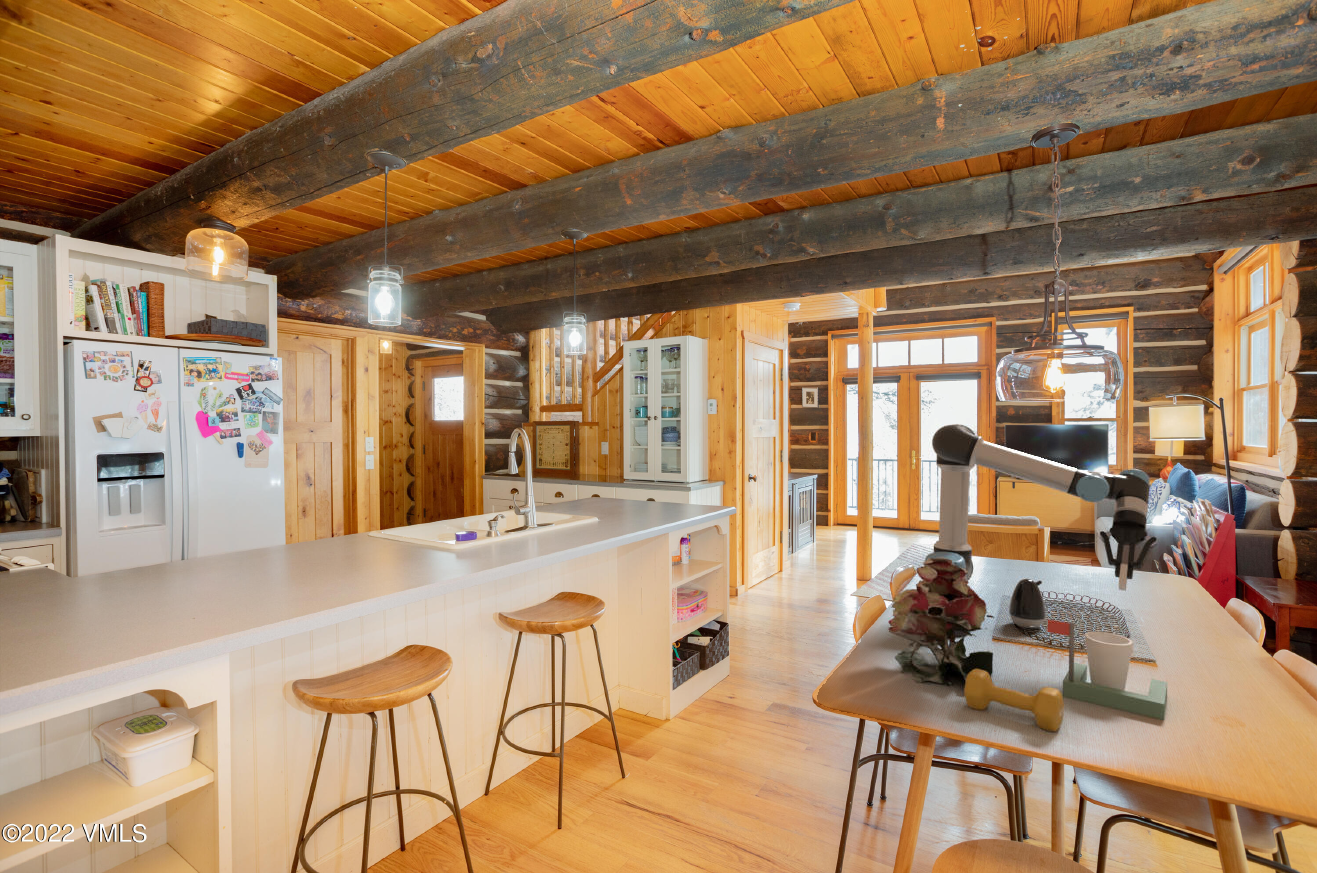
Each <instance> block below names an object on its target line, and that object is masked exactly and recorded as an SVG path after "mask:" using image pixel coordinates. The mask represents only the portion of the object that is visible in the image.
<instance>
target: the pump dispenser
mask: <svg viewBox="0 0 1317 873" xmlns="http://www.w3.org/2000/svg"><path fill="white" fill-rule="evenodd" d="M1042 584H1043V582H1042V580H1037V581H1034V580H1032V579H1030V578H1024V579H1021V580H1020V581H1018V583H1017V584H1016V585H1015V587H1014V589H1013V592H1012V595H1011V598H1010V602H1009V608H1008V612H1009V615H1010V619H1011V620H1012V622H1013V623H1014V624H1015V625H1017V626H1018V627H1021V628H1023V629H1024V628H1025V629H1032V630H1033V629H1037V628H1040V627H1041V626H1042V625H1043V623H1044V622H1045V619H1046V617H1047V615H1046V612H1047V611H1046V606H1045V602H1044V597H1043V595H1042V593H1041V592H1042V591H1041V590H1040V587H1039V586H1040V585H1042ZM1030 626H1034V627H1030ZM1035 626H1038V627H1035Z"/></svg>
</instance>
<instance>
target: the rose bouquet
mask: <svg viewBox="0 0 1317 873" xmlns="http://www.w3.org/2000/svg"><path fill="white" fill-rule="evenodd" d="M952 561H953V560H950V559H947V558H942V557H941V558H939V557H938V558H936V559H933V558H928V559H927V561H925V560H924V561H923V563H922V565H923V566H919V567H917V568H916V569H915V571H916V573H917V575H918V577H919V578H920V579H921V580H918V582H917V583H916V584H915V588H909V589H907V588H906V589H904V590H903V591H901V592H899V593H898V594H897V595H895V596H893V599H892V601H891V602H892V605H891V608H892V616H893V617H892V618H891V619H890V620H888V624H889V625H890V627H888V632H889V633H890V634H893V635H895V636H898V637H901V638H904V639H906V640H908V641H911V642H909V643H908V644H909V645H908V647H906V648H903V649H901V651H900V652H898V653H897V654H896V655H895V656H894V657H895V660H896V661H897V662H898V663H899V664H900V665H901V668H902V669H901V670H900V671H899V673H901V674H906V673H909V674H911V675H910V676H909V678H910V679H912V680H913V681H914V682H915V683H919V684H922V683H924V682H933V683H936V684H937V683H938V684H939V685H940V684H941V685H945V686H947V687H954V684H953V683H952V682H950V681H947V680H946V679H944V677H947V673H948V670H949V669H952V670H953V671H954V672H957V673H958V674H960V675H962V677H963V679H964V681H965V682H966V678H967V675H968V674H969V673H970V672H971V671H972V670H974V669H980V670H984V671H986V672H988V673H989V675H990V677H991V676H992V674H993V673H994V671H993V669H994V667H993V665H994V664H993V662H994V652H992V651H989V650H987V651H985V650H984V651H983V650H981V651H974V652H970V653H969V654H968V656H967V655H966V652H967V648H966V646H965V644H964V642H965V638H966V636H969V637H973V636H974V637H977V635H976V634H974V633H973V634H972V633H969V632H977V631H981V630H983V628H981V627H982V623H983V622H985V619H986V617H988V618H992V619H995V616H994V615H990V614H988V613H989V612H988V610H987V603H986V602H985V600H984V599H982V597H980V595H979V594H978V593H976V591H975V590H974V589H972V588H971V586H970V585H968V584H969V580H968V581H966V580H964V578H965V575H966V574H967V573H968V571H966V570H965V569H963V568H960V567H958V566H956V565H954V564H953V563H952ZM924 565H925V566H924ZM986 614H987V615H986ZM984 630H989V628H988V627H985V628H984ZM954 631H958V632H962V633H964V634H966V635H965V636H962V637H961V638H960V639H958V640H957V641H956V636H955V633H954ZM998 642H999V640H997V642H996V643H998ZM914 644H915V646H914ZM913 647H914V648H913ZM921 647H925V648H927V649H929V650H930V652H926V651H923V650H921V649H920V648H921ZM962 690H963V691H964V690H965V688H962Z"/></svg>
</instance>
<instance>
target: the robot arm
mask: <svg viewBox="0 0 1317 873" xmlns="http://www.w3.org/2000/svg"><path fill="white" fill-rule="evenodd" d="M931 445H932V449H933V451H934V453H935V454H936V466H937V467H938V468H939V469H940V489H939V490H940V493H939V494H940V496H939V524H938V528H939V529H938V541H936V542H935V543H933V552H931V553H929V554H927V555H926V556H925V558H924V562H925V561H927V559H928V558H933V559H936V558H938V557H939V558H941V557H942V558H947V559H950V560H953V561H952V563H953V564H954V565H956V566H958V567H960V568H963V569H965V570H966V571H968V573H967V574H966V575H965V578H964V580H966V581H968V582H969V581H970V580H971V578H972V575H973V573H974V564H973V560H972V559H973V558H972V557H973V556H972V550H973V548H972V546H971V545H970V544H969V542H968V528H969V526H968V524H969V522H968V521H969V499H970V498H969V496H970V494H969V492H970V471H971V470H972V469H974V467H975V466H976V465H977V466H980V467H983V468H987V469H990V470H993V471H996V472H999V473H1003V474H1004V475H1009V476H1012V477H1014V478H1018V479H1021V480H1024V481H1026V482H1027V481H1028V482H1031V483H1033V484H1037V485H1041V486H1043V487H1047V488H1049V489H1052V490H1056V491H1059V492H1062V493H1065V494H1069V495H1071V496H1074V497H1077V498H1079V499H1081V500H1084V501H1085V502H1089V503H1098V502H1101V501H1103V500H1110V501H1115V502H1114V509H1113V510H1114V511H1113V518H1112V526H1111V527H1110V528H1109V530H1108V531H1103V530H1102V531H1101V530H1100V532H1099V537H1100V538H1099V539H1100V540H1101V541H1102V542H1103V546H1104V548H1105V549H1104V550H1105V553H1106V558H1107V563H1108V565H1109V566H1114V576H1115V578H1118V590H1119V591H1125V592H1126V591H1127V585H1128V580H1133V577H1134V570H1136V569H1138V570H1142V569H1143V567H1144V565H1145V563H1146V562H1147V558H1148V556H1149V555H1150V552H1151V551H1152V549H1153V548H1154V547H1155V546H1157V543H1158V542H1157V541H1158V540H1157V537H1156V536H1150V535H1148V532H1147V531H1146V529H1147V518H1148V510H1149V508H1148V507H1149V500H1150V497H1149V496H1150V490H1151V486H1150V481H1151V480H1150V476H1149V475H1148V474H1147V473H1146V472H1145V471H1143V470H1140V469H1136V468H1130V469H1128V468H1127V469H1123V470H1122V471H1120V472H1119V473H1118V474H1111V473H1106V472H1105V473H1104V472H1098V471H1094V470H1093V471H1092V470H1087V469H1077V468H1075V467H1072V466H1067V465H1065V464H1061V463H1058V462H1055V461H1051V460H1048V459H1046V458H1045V459H1044V458H1041V457H1039V456H1035V455H1033V454H1028V453H1025V452H1022V451H1019V450H1016V449H1012V448H1010V447H1009V448H1008V447H1005V446H1002V445H998V444H995V443H992V442H988V441H986V440H984V439H983V437H982V436H980V435H977V434H976V433H975V432H974V430H972V429H971V428H970V427H968V426H966V425H963V424H958V423H956V424H949V425H944V426H941V427H939V428H938V430H936V431H935V433H934V434H933V436H932V442H931ZM1111 537H1112V538H1113V540H1115V542H1116V543H1117V551H1116V557H1115V558H1114V555H1113V551H1112V546H1111V541H1110V540H1111ZM1142 542H1144V545H1143V547H1142V549H1141V551H1140V553H1139V556H1138V558H1137V559H1136V561H1135V558H1136V557H1135V556H1136V548H1137V546H1138V545H1139V544H1141V543H1142ZM1125 546H1128V547H1129V548H1128V549H1129V550H1128V556H1127V558H1128V559H1127V564H1126V563H1123V561H1124V560H1123V559H1124V550H1125ZM923 566H925V565H923ZM971 632H972V631H971ZM971 632H969V633H970V634H972V633H971ZM954 633H955V637H964V636H965V637H966V636H967V635H966V634H964V633H962V632H958V631H954Z"/></svg>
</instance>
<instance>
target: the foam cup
mask: <svg viewBox="0 0 1317 873" xmlns="http://www.w3.org/2000/svg"><path fill="white" fill-rule="evenodd" d="M1084 645H1085V647H1086V656H1087V662H1088V670H1089V677H1090V683H1092V684H1097V685H1101V686H1106V687H1110V688H1115V689H1119V690H1124V691H1126V690H1125V689H1126V685H1127V680H1128V679H1127V678H1128V675H1129V674H1128V673H1129V668H1130V663H1131V657H1132V653H1133V652H1134V642H1133V640H1131V639H1130V638H1128V637H1126V636H1124V635H1119V634H1116V633H1110V632H1105V631H1089V632H1086V633H1085V634H1084Z"/></svg>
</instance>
